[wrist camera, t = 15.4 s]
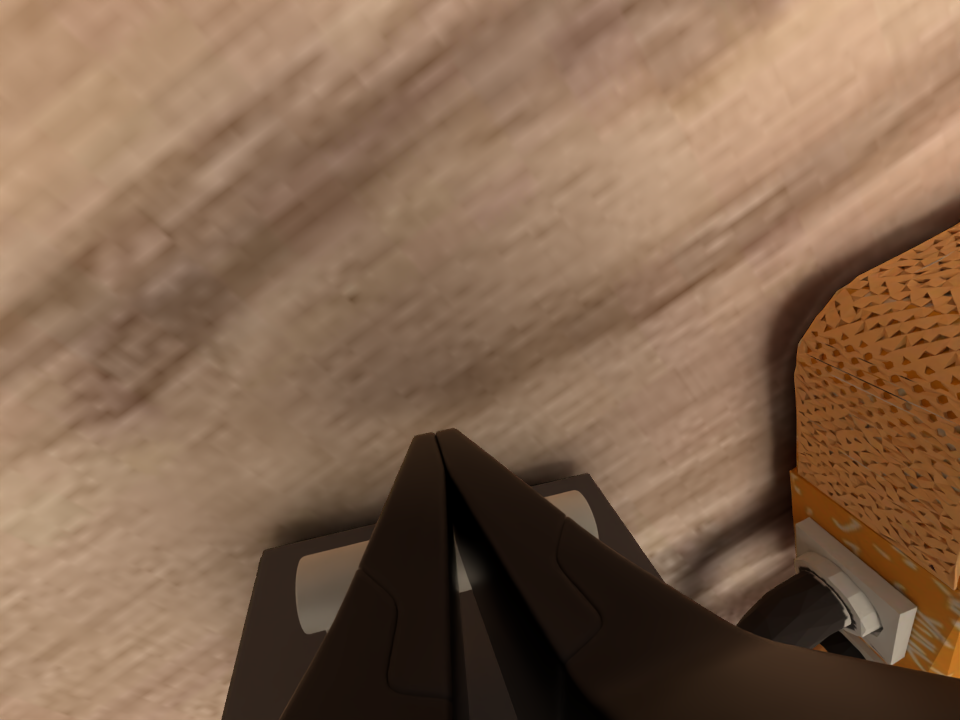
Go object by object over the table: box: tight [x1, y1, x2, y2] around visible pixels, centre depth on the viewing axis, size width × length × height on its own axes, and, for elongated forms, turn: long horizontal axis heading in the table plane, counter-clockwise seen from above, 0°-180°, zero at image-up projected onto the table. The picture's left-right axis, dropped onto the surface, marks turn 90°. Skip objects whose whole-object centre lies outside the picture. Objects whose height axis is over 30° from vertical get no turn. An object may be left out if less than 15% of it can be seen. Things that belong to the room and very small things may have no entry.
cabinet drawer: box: [223, 473, 665, 720], centre depth 14 cm, size 18×11×8 cm, turn 4°
